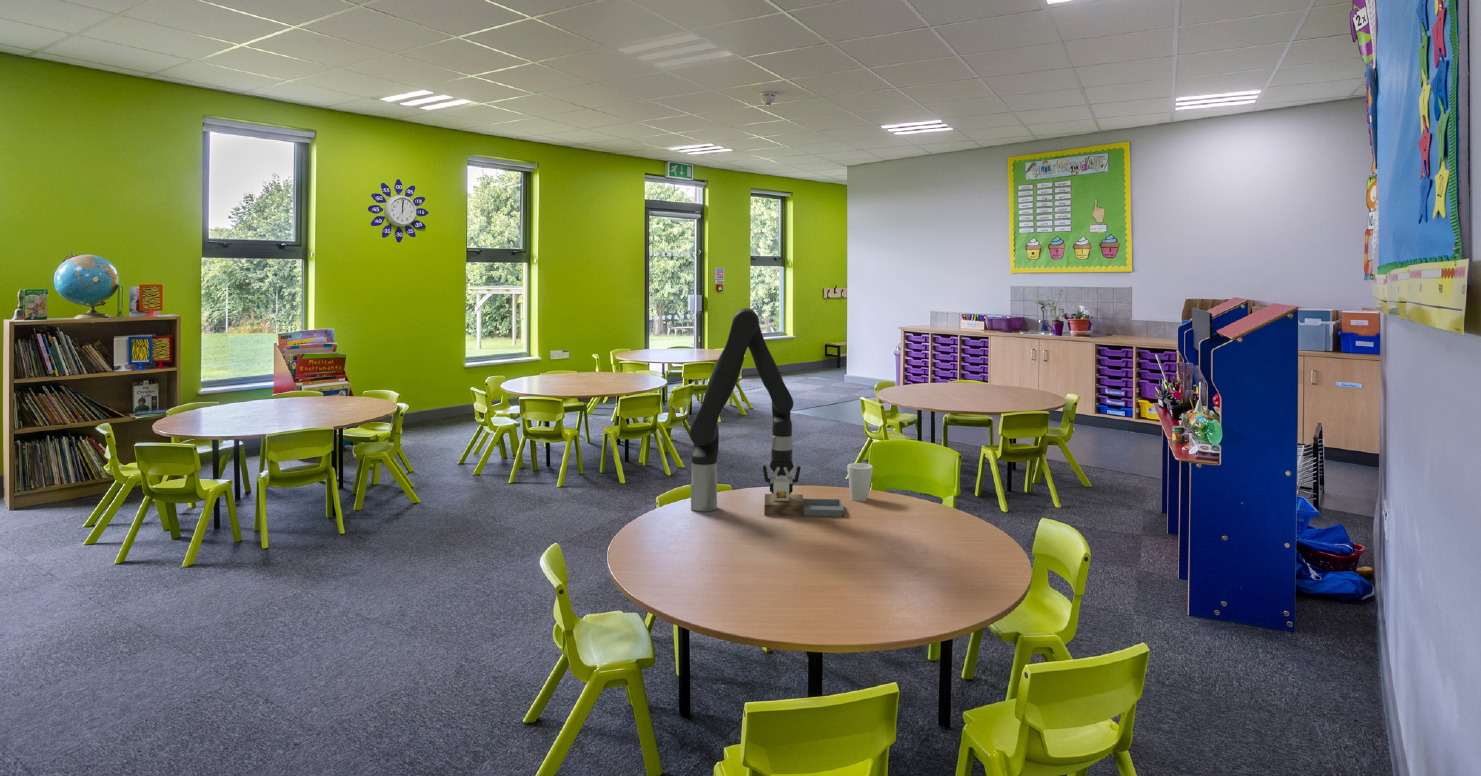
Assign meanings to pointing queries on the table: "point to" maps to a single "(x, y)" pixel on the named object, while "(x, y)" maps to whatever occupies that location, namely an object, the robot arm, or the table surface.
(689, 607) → the table surface
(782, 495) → the ball
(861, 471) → the foam cup
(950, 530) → the table surface
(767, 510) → the platform
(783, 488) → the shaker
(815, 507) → the tray
